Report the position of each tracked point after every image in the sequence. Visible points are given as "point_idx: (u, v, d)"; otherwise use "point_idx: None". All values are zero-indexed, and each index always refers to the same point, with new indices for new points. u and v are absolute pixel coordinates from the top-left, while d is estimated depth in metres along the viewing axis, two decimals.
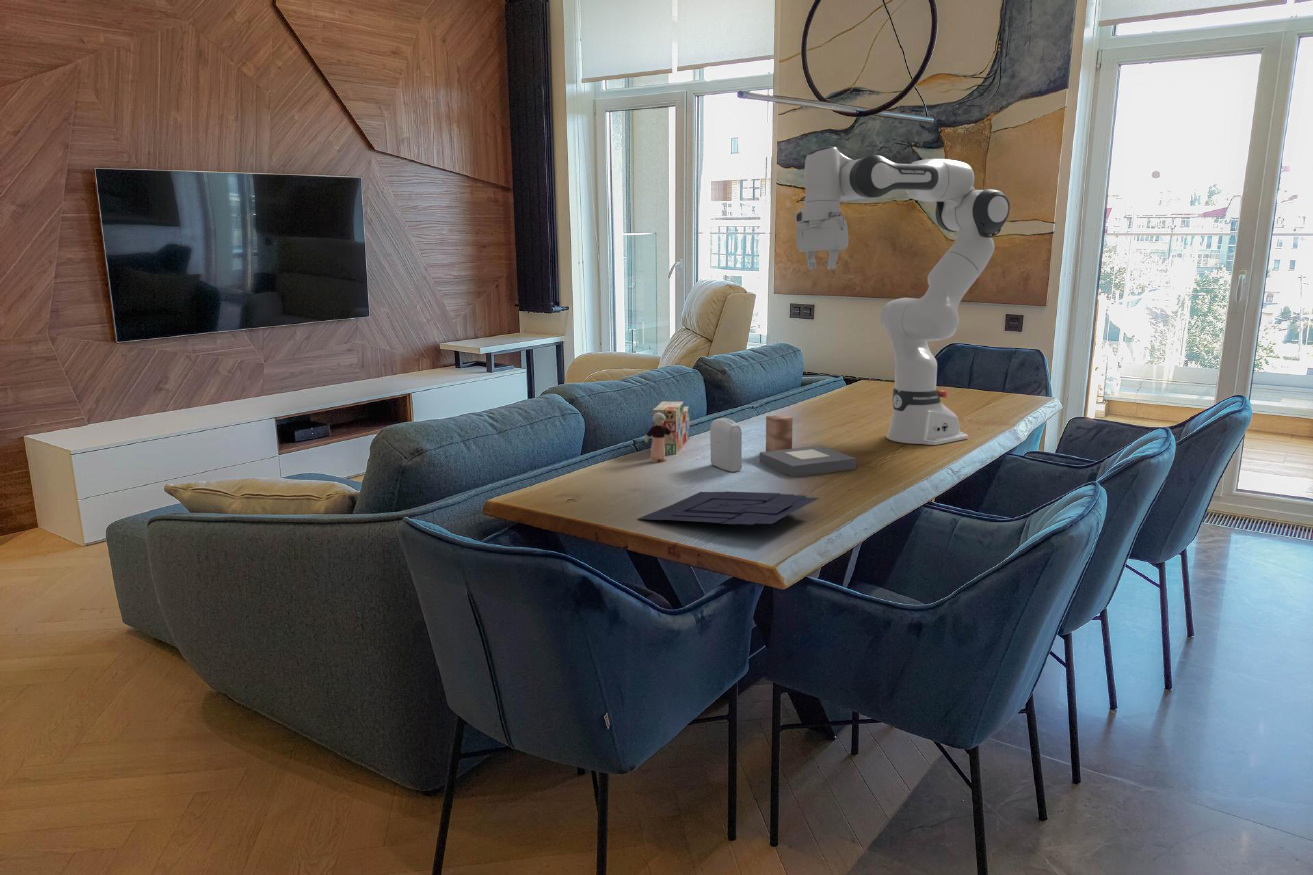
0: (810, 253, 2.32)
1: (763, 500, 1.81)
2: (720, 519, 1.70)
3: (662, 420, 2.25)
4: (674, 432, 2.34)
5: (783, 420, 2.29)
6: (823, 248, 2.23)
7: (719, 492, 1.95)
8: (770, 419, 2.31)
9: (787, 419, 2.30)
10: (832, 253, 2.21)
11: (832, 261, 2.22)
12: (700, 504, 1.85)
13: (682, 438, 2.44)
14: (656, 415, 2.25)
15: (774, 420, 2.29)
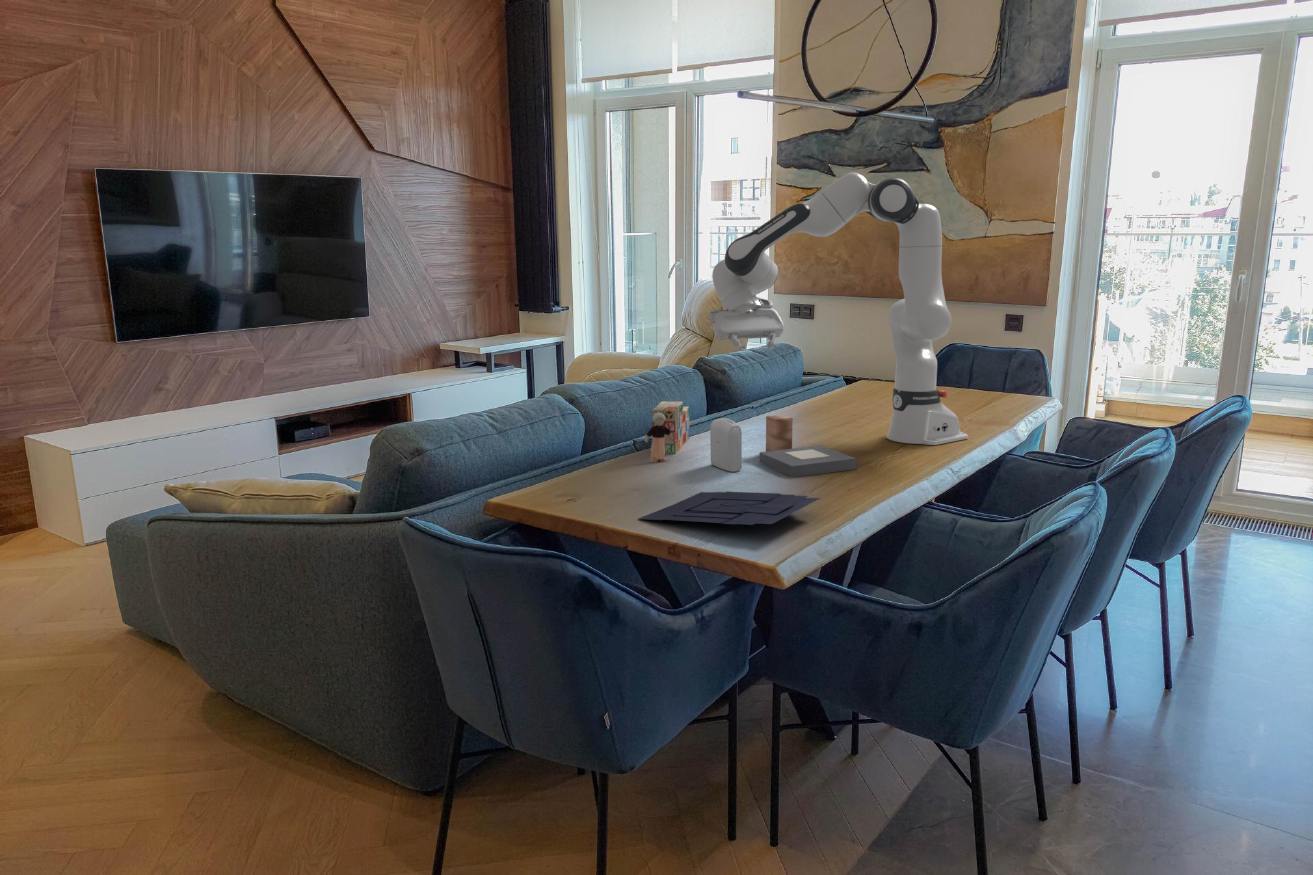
0: (768, 337, 2.43)
1: (764, 500, 1.81)
2: (720, 519, 1.70)
3: (662, 420, 2.25)
4: (673, 432, 2.34)
5: (783, 420, 2.29)
6: None
7: (720, 492, 1.95)
8: (770, 419, 2.31)
9: (787, 419, 2.30)
10: (730, 340, 2.39)
11: (736, 344, 2.38)
12: (701, 504, 1.84)
13: (682, 438, 2.45)
14: (656, 415, 2.25)
15: (774, 420, 2.29)
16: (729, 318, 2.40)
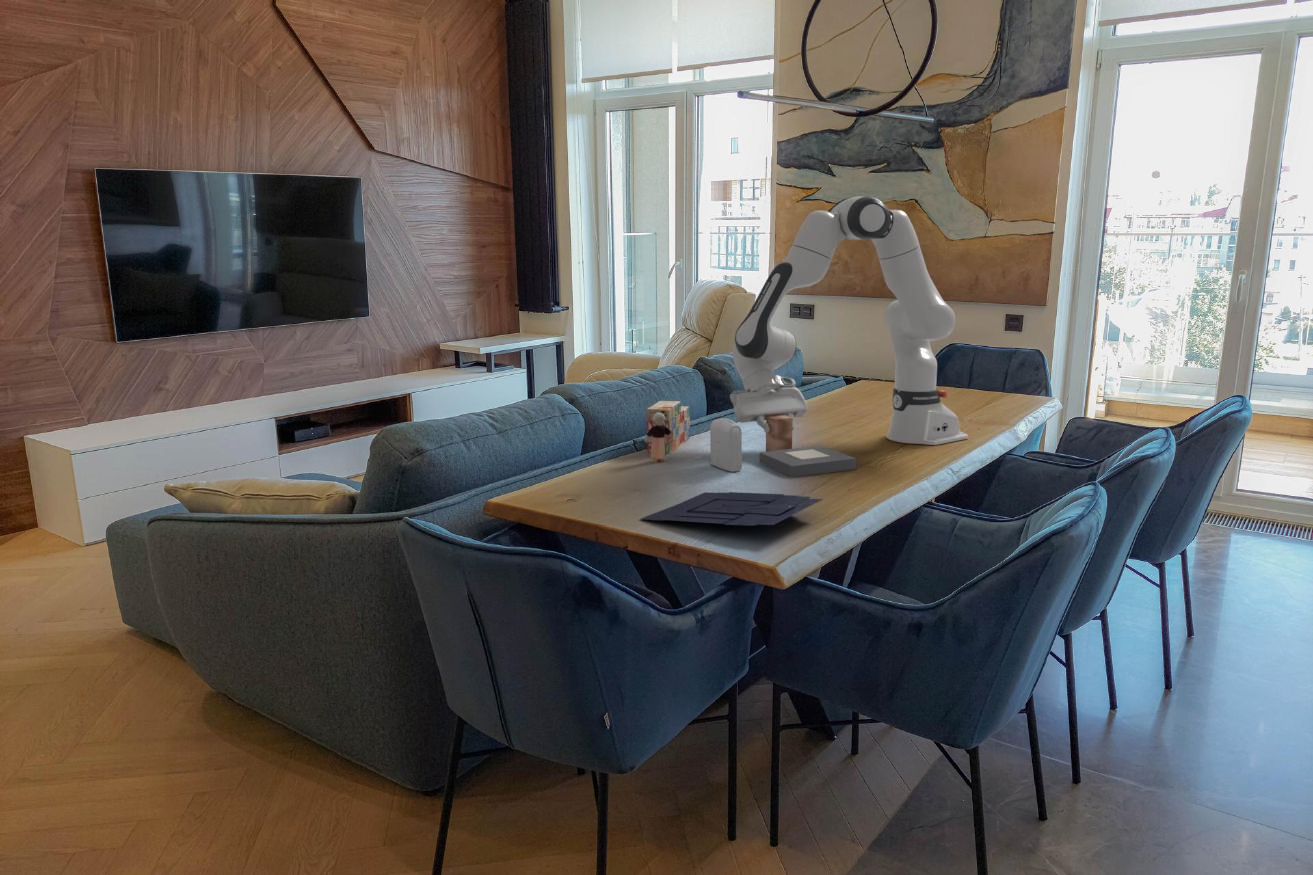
0: None
1: (766, 501, 1.80)
2: (722, 520, 1.69)
3: (662, 420, 2.25)
4: None
5: (783, 420, 2.29)
6: None
7: (723, 493, 1.94)
8: (770, 419, 2.31)
9: (787, 419, 2.30)
10: (757, 422, 2.32)
11: (763, 427, 2.31)
12: (703, 505, 1.84)
13: (679, 438, 2.45)
14: (656, 415, 2.25)
15: (774, 420, 2.29)
16: (750, 400, 2.33)
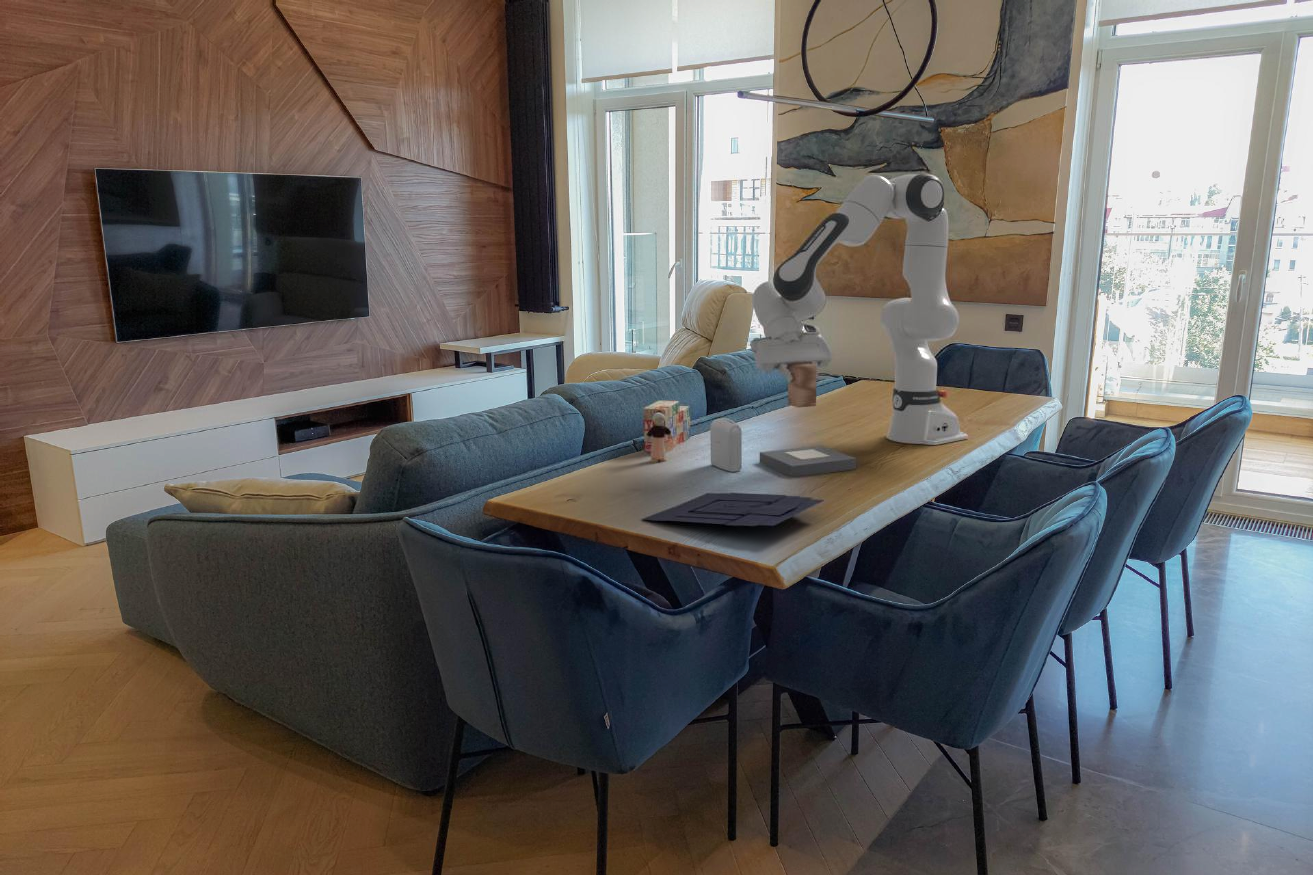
0: None
1: (768, 502, 1.80)
2: (723, 520, 1.69)
3: (662, 420, 2.25)
4: None
5: (807, 368, 2.16)
6: None
7: (725, 493, 1.94)
8: (793, 367, 2.17)
9: (811, 367, 2.16)
10: (779, 371, 2.19)
11: (786, 375, 2.18)
12: (705, 505, 1.84)
13: (677, 437, 2.45)
14: (656, 415, 2.25)
15: (797, 368, 2.16)
16: (772, 347, 2.20)
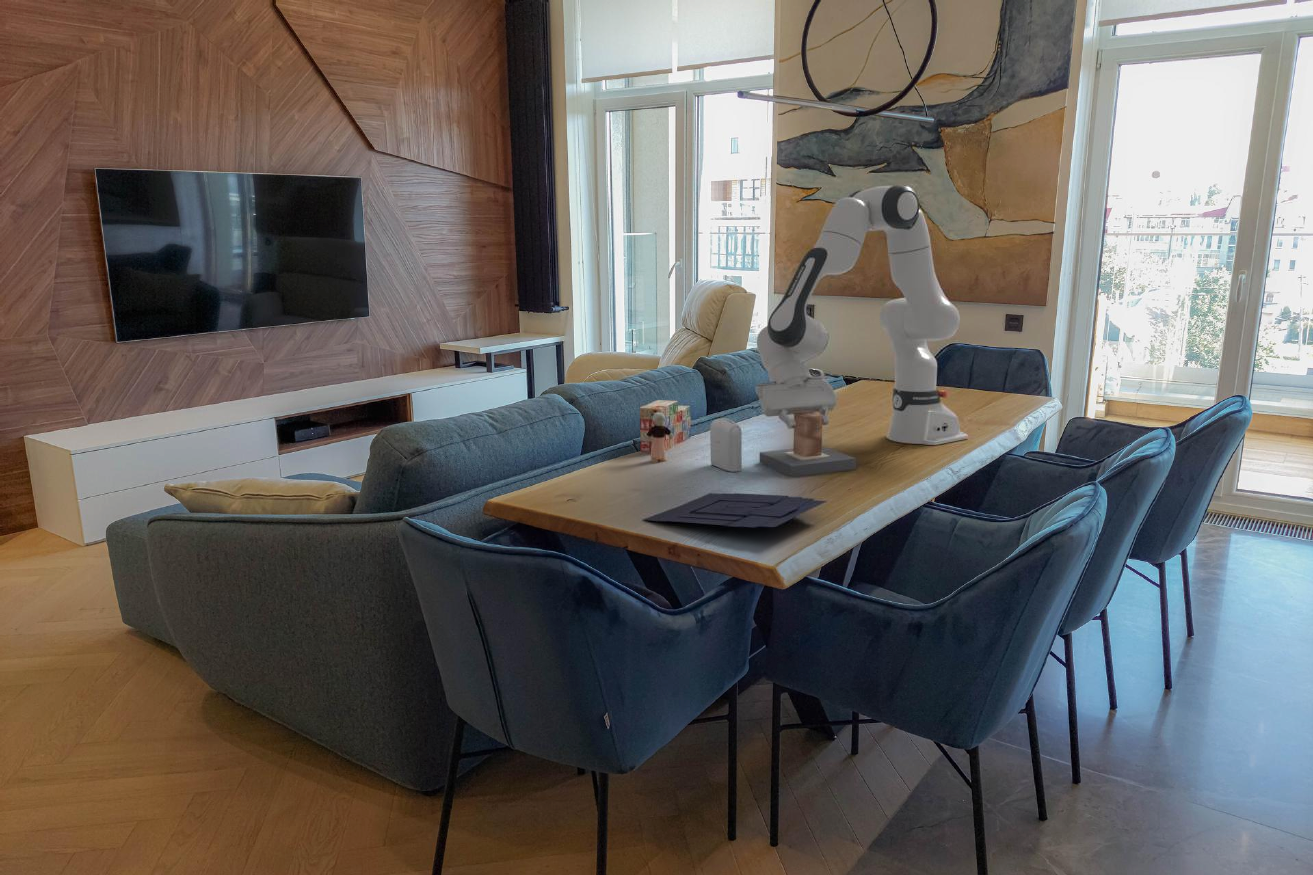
0: (820, 411, 2.22)
1: (770, 503, 1.79)
2: (724, 521, 1.69)
3: (662, 420, 2.25)
4: None
5: (813, 417, 2.16)
6: None
7: (728, 494, 1.93)
8: (798, 417, 2.17)
9: (817, 417, 2.16)
10: (779, 417, 2.18)
11: (786, 421, 2.17)
12: (707, 506, 1.83)
13: (675, 437, 2.46)
14: (656, 415, 2.25)
15: (803, 418, 2.16)
16: (777, 392, 2.19)
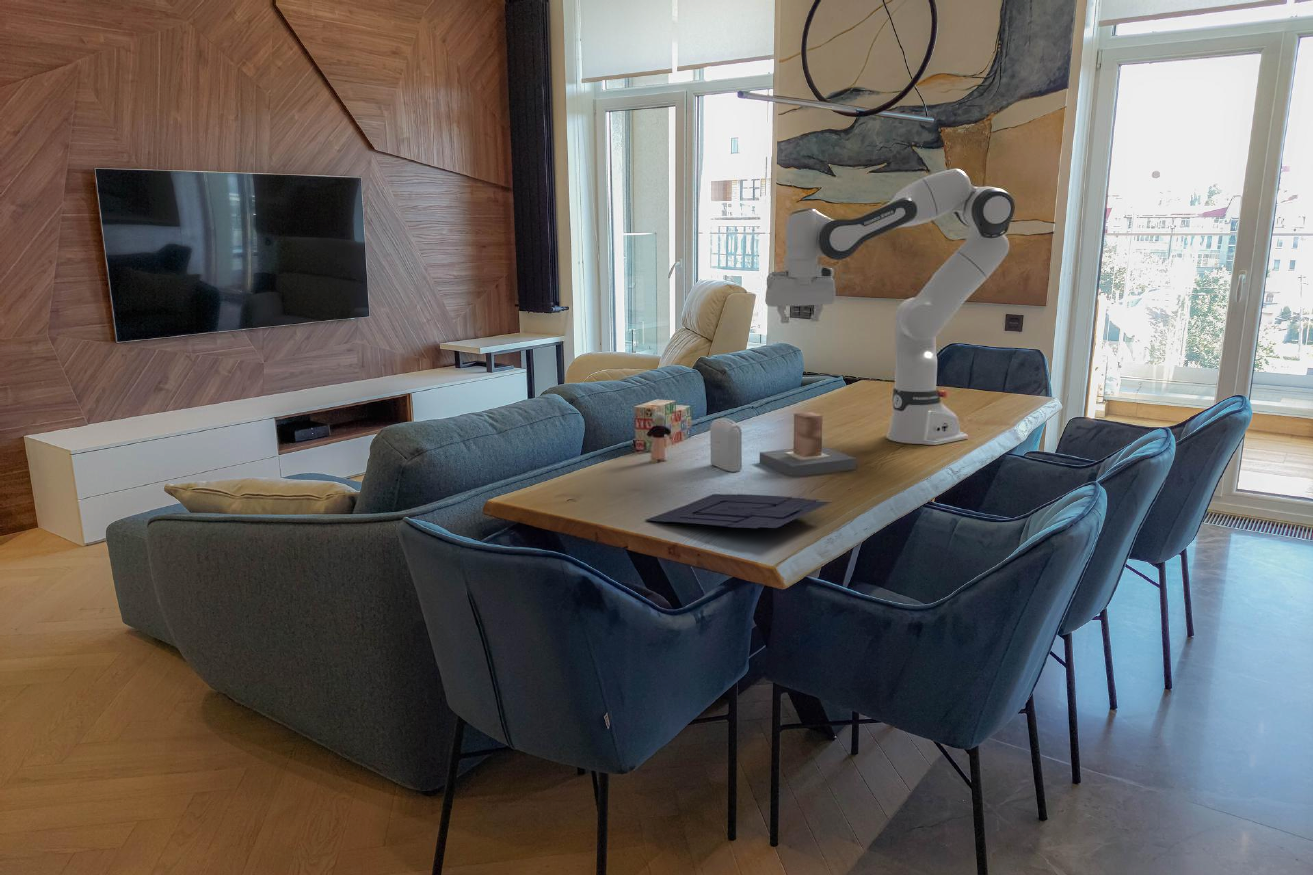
0: (815, 306, 2.44)
1: (773, 504, 1.78)
2: (726, 522, 1.68)
3: (662, 420, 2.25)
4: None
5: (813, 417, 2.16)
6: None
7: (732, 495, 1.93)
8: (798, 417, 2.17)
9: (817, 417, 2.16)
10: (777, 309, 2.40)
11: (781, 316, 2.40)
12: (710, 506, 1.83)
13: None
14: (656, 415, 2.25)
15: (803, 418, 2.16)
16: (784, 288, 2.37)
